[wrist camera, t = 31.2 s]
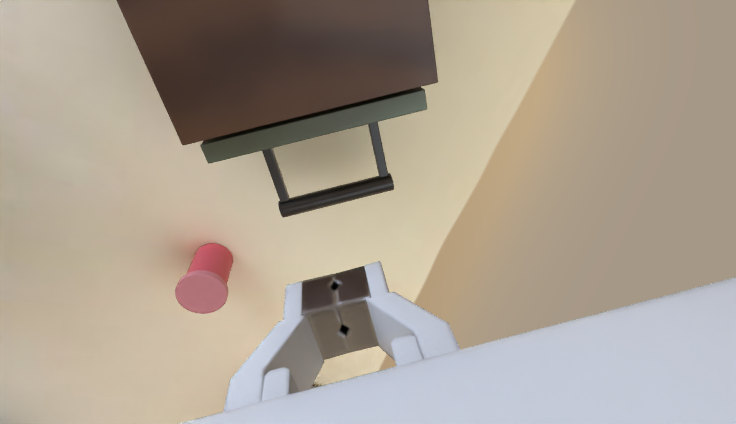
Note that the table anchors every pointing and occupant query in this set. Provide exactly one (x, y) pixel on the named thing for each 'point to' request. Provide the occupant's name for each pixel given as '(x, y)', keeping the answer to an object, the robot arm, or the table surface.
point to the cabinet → (277, 57)
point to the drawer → (314, 127)
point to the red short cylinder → (206, 280)
